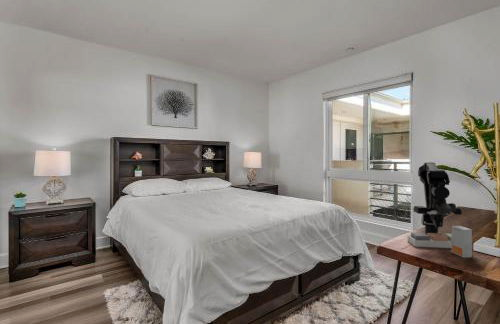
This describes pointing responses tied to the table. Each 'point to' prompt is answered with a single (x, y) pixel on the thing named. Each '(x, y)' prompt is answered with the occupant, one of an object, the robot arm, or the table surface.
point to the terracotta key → (437, 237)
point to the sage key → (448, 236)
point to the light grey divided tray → (429, 243)
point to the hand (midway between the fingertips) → (436, 227)
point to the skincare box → (461, 241)
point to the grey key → (420, 236)
